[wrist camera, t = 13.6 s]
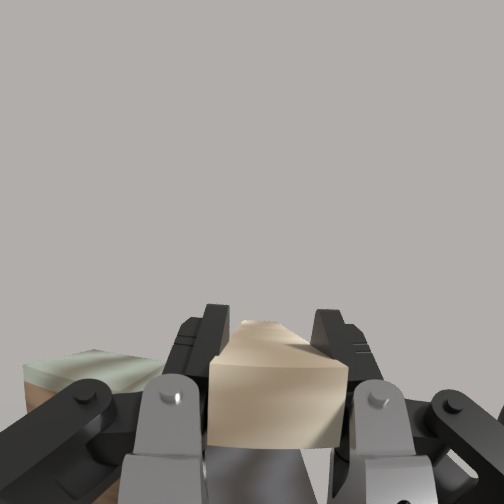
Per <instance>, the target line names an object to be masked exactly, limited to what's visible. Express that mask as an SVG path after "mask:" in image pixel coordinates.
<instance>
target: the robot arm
mask: <svg viewBox="0 0 504 504" xmlns="http://www.w3.org/2000/svg"><path fill="white" fill-rule="evenodd" d="M228 342H229V305H217V304H207V306H206V309H205V312H204V315H203V318H196V317H191V318H189V319H188V320H187V321H185V322H184V323H183V324H182V325H181V327H180V329H179V332H178V334H177V337H176V339H175V342H174V345H173V347H172V349H171V352H170V354H169V357H168V360H167V362H166V364H165V367H164V369H163V372H162V374H161V375H160V376H157V377H155V378H153V379H151V380H150V381H149V382H148V383H147V384H146V385H145V387H144V390H143V391H139V392H133V393H117V394H112V391H111V389H110V387H109V386H108V385H107V384H106V383H104V382H103V381H101V380H98V379H91V378H87V379H81V380H78V381H75V382H73V383H72V384H70V385H69V386H67V387H66V388H64V389H63V390H61V391H60V392H58V393H57V394H56V395H54V396H53V397H51V398H50V399H48V400H47V401H45V402H44V403H42V404H41V405H40V406H38V407H37V408H35V409H34V410H32V411H31V412H29V413H28V414H27V415H25V416H24V417H22V418H21V419H20V420H18V421H16V422H15V423H13V424H12V425H11V426H9V427H8V428H6V429H5V430H3V431H2V432H0V504H92V503H93V502H94V501H95V500H96V499H97V498H98V497H100V496H101V495H102V494H103V493H104V492H105V491H106V490H107V489H108V488H109V487H110V486H111V485H113V484H114V483H115V482H116V481H117V480H118V479H119V478H120V477H121V479H120V487H119V496H118V504H209V494H208V480H207V465H206V450H205V448H206V445H207V434H208V396H209V368H210V362H211V361H212V360H213V359H214V357H215V356H219V355H220V354H221V352H222V351H223V349H224V348H225V347H226V345H227V344H228ZM310 345H311V346H313V347H314V348H316V349H317V350H319V351H321V352H322V353H324V354H325V355H327V356H328V357H330V358H331V359H333V360H338V361H339V362H341V363H343V364H344V365H346V366H347V367H349V368H348V379H347V389H346V399H345V407H344V415H343V423H342V430H341V437H340V444H339V447H332V449H331V454H330V472H329V487H328V499H327V504H504V406H503V408H502V410H501V412H500V415H499V417H498V420H496V419H495V418H493V417H492V416H491V415H490V414H489V413H487V412H486V411H485V410H484V409H482V408H481V407H480V406H479V405H477V404H476V403H475V402H474V401H472V400H471V399H470V398H469V397H467V396H466V395H465V394H463V393H461V392H459V391H456V390H450V389H448V390H442V391H440V392H438V393H437V394H435V396H434V397H433V399H432V401H431V402H422V401H415V400H409V399H405V398H404V396H403V394H402V392H401V391H400V390H399V388H397V387H396V386H395V385H393V384H391V383H390V382H387V381H384V379H383V377H382V375H381V372H380V370H379V368H378V365H377V363H376V361H375V359H374V357H373V354H372V353H371V350H370V348H369V345H367V341H366V339H365V337H364V334H363V333H362V332H361V331H360V330H359V329H358V328H357V327H356V326H355V325H353V324H345V323H344V320H343V318H342V316H341V313H340V311H339V310H330V309H318V310H317V311H316V314H315V319H314V325H313V331H312V336H311V342H310ZM450 449H452V450H453V451H454V452H455V453H456V454H457V455H458V456H460V458H462V459H463V460H464V461H465V462H466V463H467V464H468V465H469V466H470V467H471V468H472V469H474V470H475V471H476V473H477V474H478V478H472V477H470V476H469V475H468V474H467V473H466V472H465V471H464V470H463V469H461V468H460V467H459V466H458V465H457V464H456V463H455V462H454V461H453V460H452V459H451V458H450V457H449V456H448V455H447V453H448V452H449V450H450Z"/></svg>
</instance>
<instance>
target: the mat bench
mask: <svg viewBox="0 0 504 504" xmlns="http://www.w3.org/2000/svg"><path fill="white" fill-rule="evenodd" d="M205 450H206V465H207V480H208V494H209V504H317V501H316V498H315V495H314V492H313V489H312V486H311V483H310V479H309V477H308V473H307V470H306V468H305V464H304V461H303V458H302V455H301V452H300V449H252V448H235V447H222V446H211V445H206V448H205Z"/></svg>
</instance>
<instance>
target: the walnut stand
mask: <svg viewBox="0 0 504 504" xmlns="http://www.w3.org/2000/svg"><path fill="white" fill-rule="evenodd" d="M166 362H167V361H161V360H153V359H147V358H140V357H133V356H127V355H121V354H115V353H110V352H104V351H100V350H90V351H85V352H81V353H77V354H72V355H68V356H63V357H58V358H54V359H49V360H45V361H39V362H35V363H30V364H24V365H23V374H24V387H25V398H26V406H27V414H28V413H29V412H31V411H32V410H34V409H35V408H37V407H38V406H40V405H41V404H42V403H44V402H45V401H47V400H48V399H50V398H51V397H53V396H54V395H56V394H57V393H58V392H60V391H61V390H63V389H64V388H66V387H67V386H69V385H70V384H72V383H73V382H75V381H78V380H81V379H87V378H91V379H98V380H101V381H103V382H104V383H106V384H107V385H108V386H109V387H110V389H111V391H112V394H117V393H133V392H139V391H143V390H144V387H145V385H146V384H147V383H148V382H149V381H150V380H151V379H153V378H155V377H157V376H160V375H161V374H162V372H163V369H164V367H165V364H166ZM120 479H121V477H120V478H119V479H118V480H117V481H116V482H115V483H114V484H113V485H111V486H110V487H109V488H108V489H107V490H106V491H105V492H104V493H103V494H102V495H101V496H100V497H98V498H97V499H96V500H95V501H94V502H93V503H92V504H118V496H119V487H120Z"/></svg>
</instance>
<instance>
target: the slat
mask: <svg viewBox="0 0 504 504" xmlns="http://www.w3.org/2000/svg"><path fill="white" fill-rule="evenodd" d="M348 368H349V367H347V366H346V365H344V364H343V363H341V362H339V361H338V360H333V359H331V358H330V357H328V356H327V355H325V354H324V353H322V352H321V351H319V350H317V349H316V348H314V347H313V346H311V345H310V343H308V342H307V341H305V340H304V339H302V338H300V337H299V336H297V335H296V334H294V333H293V332H291V331H290V330H288V329H286V328H285V327H283V326H282V325H280V324H279V323H277V322H266V321H246V320H243V321H242V323H241V324H240V325H239V327H238V328H237V329H236V331H235V332H234V333H233V334H232V336H231V337H230V338H229V342H228V344H227V345H226V347H225V348H224V349H223V351H222V352H221V354H220V355H219V356H215V357H214V359H213V360H212V361H211V362H210V368H209V396H208V434H207V445H211V446H222V447H235V448H252V449H312V448H313V449H315V448H332V447H339V444H340V437H341V430H342V423H343V415H344V407H345V399H346V389H347V379H348Z"/></svg>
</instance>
